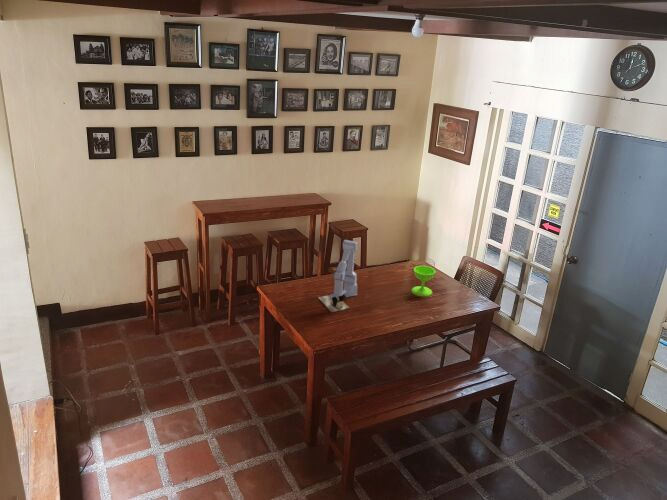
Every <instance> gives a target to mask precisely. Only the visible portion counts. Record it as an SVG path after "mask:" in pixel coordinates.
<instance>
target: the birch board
mask: <svg viewBox="0 0 667 500" xmlns="http://www.w3.org/2000/svg"><path fill="white" fill-rule="evenodd" d="M329 295H330V294H328V295H323V296H318V297H317V299H318V300H319V302H321V304H322V305H324V306H325V308H326V309H327V310H328V311H330V313H335V312H339V311H344V310H349V309H350V307H349V305H347V304H346V303H345V302H344V301H343V308H340V309H337V308H336V307H334V306H332V305H331V299H330V298H329ZM336 298H337V299H339V296H337V297H336Z"/></svg>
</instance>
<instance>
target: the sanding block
mask: <svg viewBox="0 0 667 500" xmlns="http://www.w3.org/2000/svg"><path fill="white" fill-rule="evenodd" d="M343 302H344V301H343ZM343 302H342V301H340V300H339V299H338V300H337V304H336V308H337V309H340V308H343ZM331 305H332V306H334V305H333V301H332V299H331ZM334 307H335V306H334Z"/></svg>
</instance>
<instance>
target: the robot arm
mask: <svg viewBox="0 0 667 500" xmlns="http://www.w3.org/2000/svg"><path fill="white" fill-rule="evenodd" d="M358 247H359V243H358V241H353V240H348V239H344V240H343V241H342V250H343V254H342V256H341V261H339V263H338V265H337V269H336V271H335V272H334V275H333V281H334V290H333V293H331V294H328V295H329V298H330V299H332V301H333V305H334V306H335V307H336V304H337V300H338V299H337V298H336V297H337V296H338V297H339V300H340V301H342V302H344V299H345V298H350V297H354V296H358V284H357V281H358V277H357V275H358V274H357V273H356V272H355V271H354V267H355V255H356V254H355V253H356V252H357V251H358V250H359V249H358Z"/></svg>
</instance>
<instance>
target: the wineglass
mask: <svg viewBox="0 0 667 500" xmlns="http://www.w3.org/2000/svg"><path fill="white" fill-rule="evenodd" d="M413 272H414V275H415V277H416V279H418V280H419V281H421V285H420V286H414V287H412V288H411V290H410V291H411V293H412V294H413V295H415V296H418V297H430V296H432V295H433V290H432V289H430V288H429V287H427V286H425V282H427V281H430V280H432V279H433V278H434V276H435V274H436V270H435V269H434V268H433V267H431V266H427V265H417V266H415V267H414V268H413Z"/></svg>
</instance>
